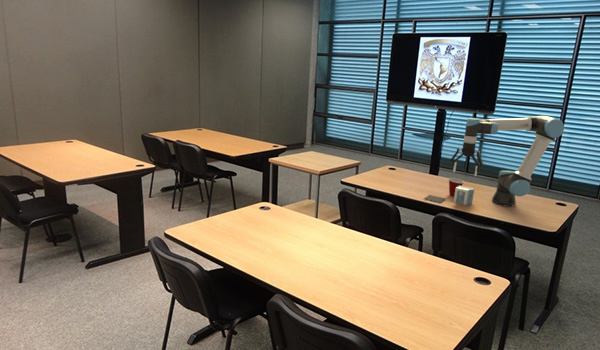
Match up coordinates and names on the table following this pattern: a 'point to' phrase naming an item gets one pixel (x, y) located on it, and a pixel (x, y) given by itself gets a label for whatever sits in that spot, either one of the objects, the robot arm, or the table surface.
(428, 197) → the rubber mat
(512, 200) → the robot arm
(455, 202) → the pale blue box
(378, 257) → the table surface
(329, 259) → the table surface
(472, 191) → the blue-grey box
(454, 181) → the plastic cup
